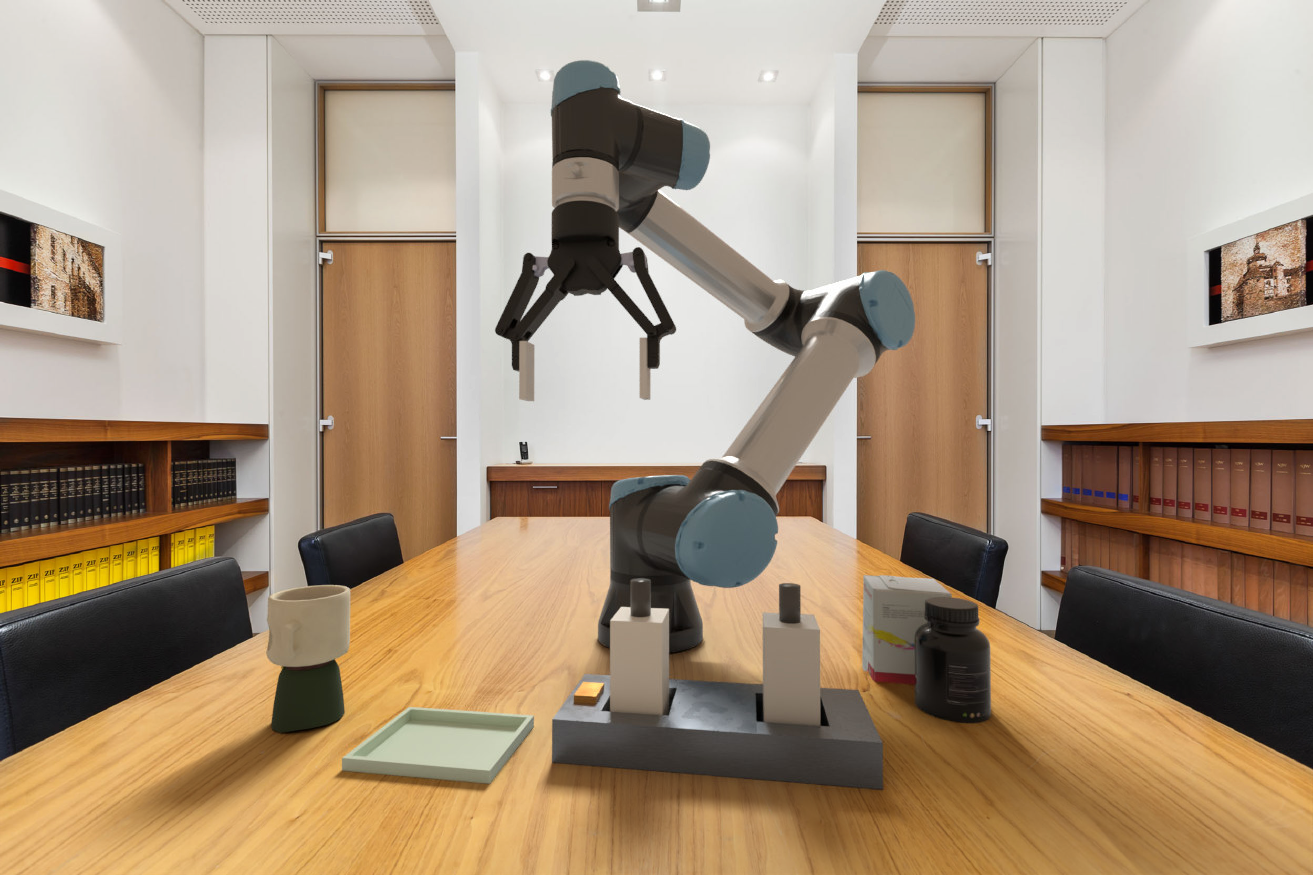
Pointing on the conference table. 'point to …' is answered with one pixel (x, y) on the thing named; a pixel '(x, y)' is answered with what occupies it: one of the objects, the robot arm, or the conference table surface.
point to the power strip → (721, 735)
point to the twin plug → (791, 662)
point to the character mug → (308, 654)
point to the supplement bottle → (952, 662)
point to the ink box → (894, 624)
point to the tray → (441, 745)
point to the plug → (640, 655)
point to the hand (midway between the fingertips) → (585, 399)
